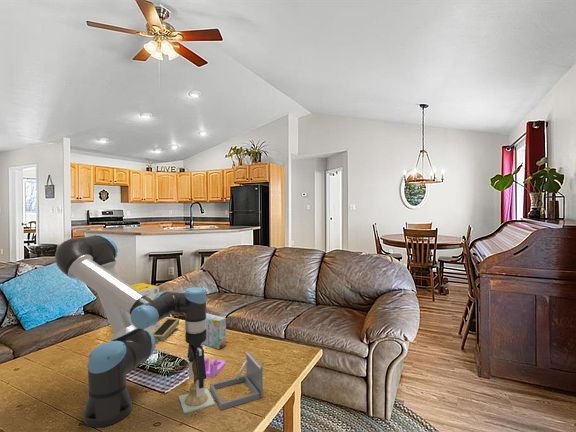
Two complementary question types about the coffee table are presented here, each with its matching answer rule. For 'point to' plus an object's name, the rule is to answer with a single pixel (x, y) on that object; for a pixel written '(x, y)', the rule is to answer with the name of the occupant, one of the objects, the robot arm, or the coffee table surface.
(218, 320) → the snack box
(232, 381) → the hatch
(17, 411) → the coffee table surface
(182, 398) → the pad
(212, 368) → the bracket
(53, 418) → the coffee table surface
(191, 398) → the hand bell
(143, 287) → the packaging box
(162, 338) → the box
